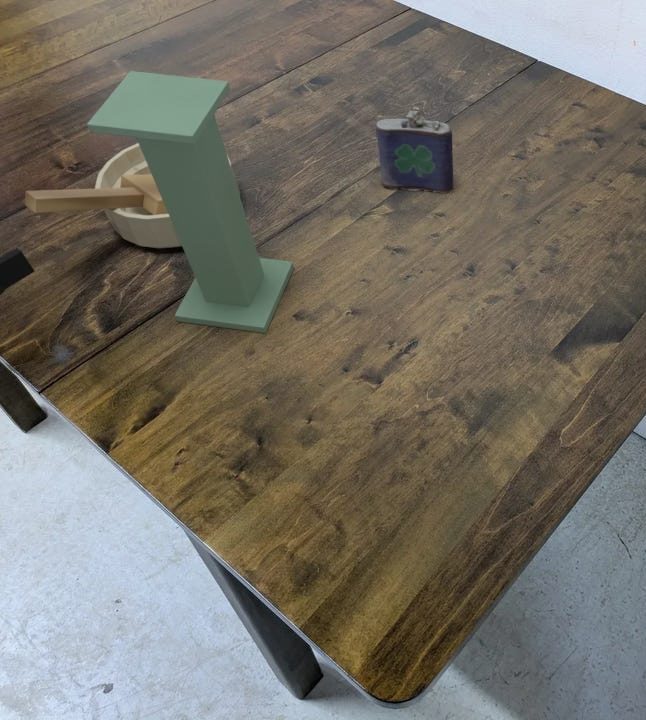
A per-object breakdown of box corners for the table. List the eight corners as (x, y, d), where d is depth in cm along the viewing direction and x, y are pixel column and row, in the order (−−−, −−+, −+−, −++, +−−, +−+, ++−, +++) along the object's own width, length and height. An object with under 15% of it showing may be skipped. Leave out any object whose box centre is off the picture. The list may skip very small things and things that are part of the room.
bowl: (91, 245, 85) (71, 209, 81) (146, 165, 94) (131, 129, 90) (214, 261, 84) (201, 225, 80) (258, 178, 93) (248, 142, 89)
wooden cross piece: (11, 194, 75) (11, 176, 75) (164, 189, 90) (167, 173, 89) (48, 224, 73) (49, 205, 72) (200, 213, 87) (203, 198, 87)
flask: (380, 189, 92) (372, 115, 84) (384, 174, 94) (377, 100, 86) (452, 194, 92) (451, 121, 83) (455, 180, 94) (454, 106, 85)
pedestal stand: (177, 321, 78) (80, 123, 59) (211, 257, 84) (134, 57, 65) (265, 333, 78) (198, 136, 58) (294, 267, 84) (242, 69, 64)
